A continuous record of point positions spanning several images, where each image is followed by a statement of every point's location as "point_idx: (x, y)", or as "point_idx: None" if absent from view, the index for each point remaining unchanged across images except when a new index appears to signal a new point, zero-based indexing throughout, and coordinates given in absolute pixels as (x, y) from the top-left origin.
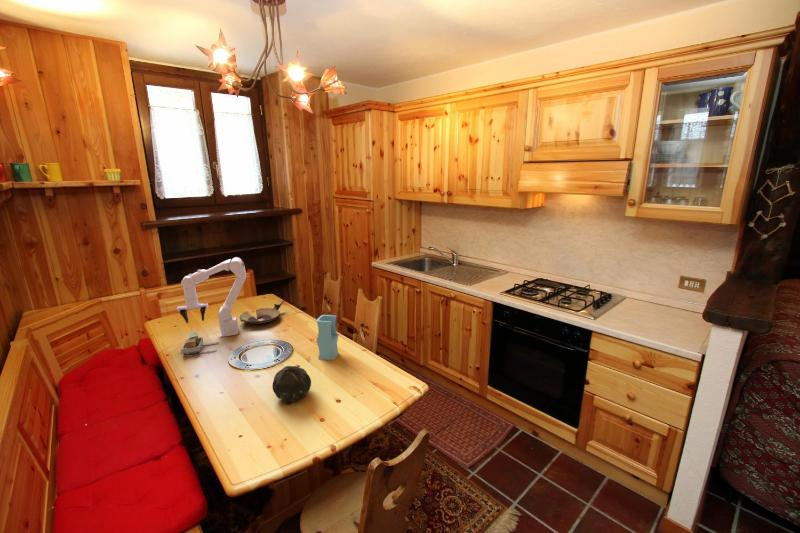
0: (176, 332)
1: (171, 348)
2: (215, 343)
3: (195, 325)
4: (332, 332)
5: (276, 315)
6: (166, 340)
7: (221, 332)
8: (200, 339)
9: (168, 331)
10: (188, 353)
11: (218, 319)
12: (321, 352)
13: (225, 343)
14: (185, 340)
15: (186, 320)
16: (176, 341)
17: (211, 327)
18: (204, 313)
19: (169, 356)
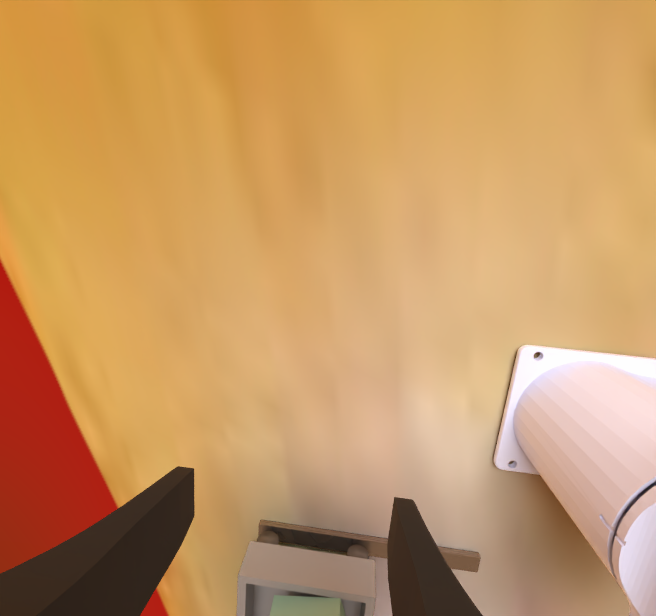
0: (111, 158)
1: (155, 477)
2: (455, 567)
3: (263, 28)
4: None
5: None
6: (77, 313)
7: (531, 461)
8: (354, 585)
9: (28, 90)
10: None
11: (619, 562)
12: None
13: (525, 583)
14: (238, 586)
15: (161, 563)
16: (161, 372)
17: (432, 181)
18: (461, 600)
19: (172, 582)
